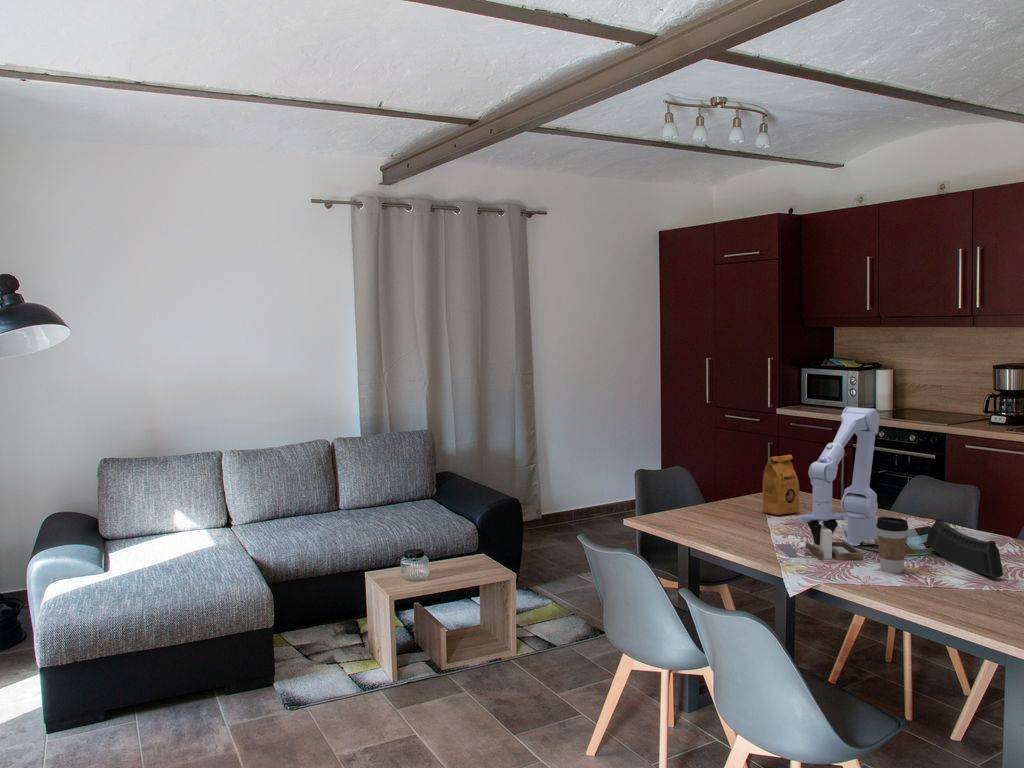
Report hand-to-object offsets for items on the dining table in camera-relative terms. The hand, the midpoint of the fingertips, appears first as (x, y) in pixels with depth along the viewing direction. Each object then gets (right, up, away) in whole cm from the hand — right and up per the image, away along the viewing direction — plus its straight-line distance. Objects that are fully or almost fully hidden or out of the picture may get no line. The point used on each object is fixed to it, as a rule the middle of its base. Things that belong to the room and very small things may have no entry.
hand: (822, 544), depth 254 cm
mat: (-7, -3, +4) cm, 9 cm away
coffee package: (+5, +1, +55) cm, 55 cm away
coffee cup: (+14, -4, -17) cm, 22 cm away
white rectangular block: (0, -3, 0) cm, 3 cm away
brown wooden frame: (+3, -3, 0) cm, 5 cm away
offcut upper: (+6, -3, 0) cm, 7 cm away
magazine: (+36, -4, -14) cm, 39 cm away
